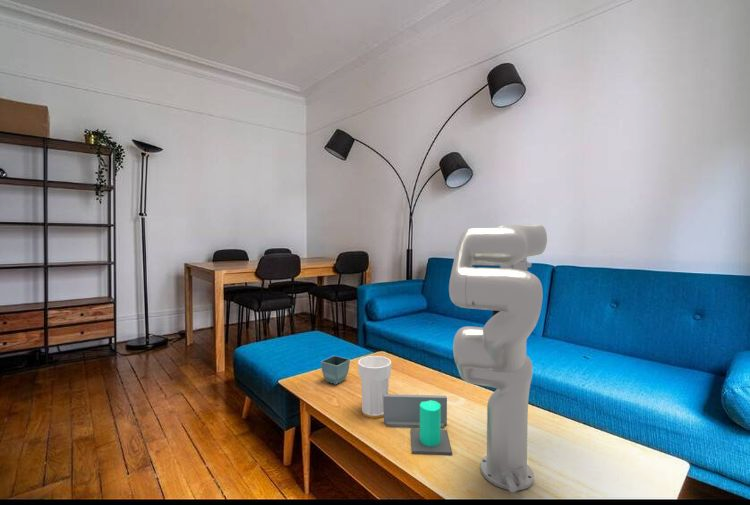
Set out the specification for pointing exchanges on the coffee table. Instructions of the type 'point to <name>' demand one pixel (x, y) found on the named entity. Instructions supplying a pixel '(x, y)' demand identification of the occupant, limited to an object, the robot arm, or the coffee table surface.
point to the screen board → (409, 409)
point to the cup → (374, 384)
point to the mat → (420, 448)
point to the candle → (430, 423)
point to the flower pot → (335, 369)
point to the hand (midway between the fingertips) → (512, 321)
